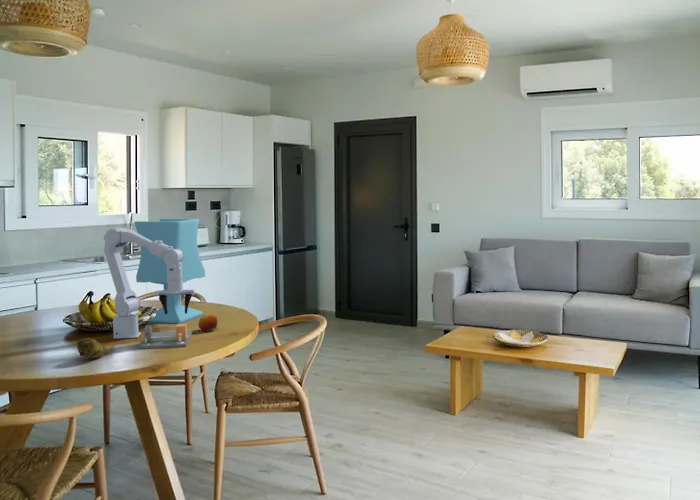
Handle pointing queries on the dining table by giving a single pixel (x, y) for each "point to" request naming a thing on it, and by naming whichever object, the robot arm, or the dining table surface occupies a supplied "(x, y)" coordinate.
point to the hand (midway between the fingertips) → (176, 313)
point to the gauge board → (165, 340)
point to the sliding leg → (181, 332)
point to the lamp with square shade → (155, 268)
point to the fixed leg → (148, 333)
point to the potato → (90, 348)
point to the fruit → (208, 322)
